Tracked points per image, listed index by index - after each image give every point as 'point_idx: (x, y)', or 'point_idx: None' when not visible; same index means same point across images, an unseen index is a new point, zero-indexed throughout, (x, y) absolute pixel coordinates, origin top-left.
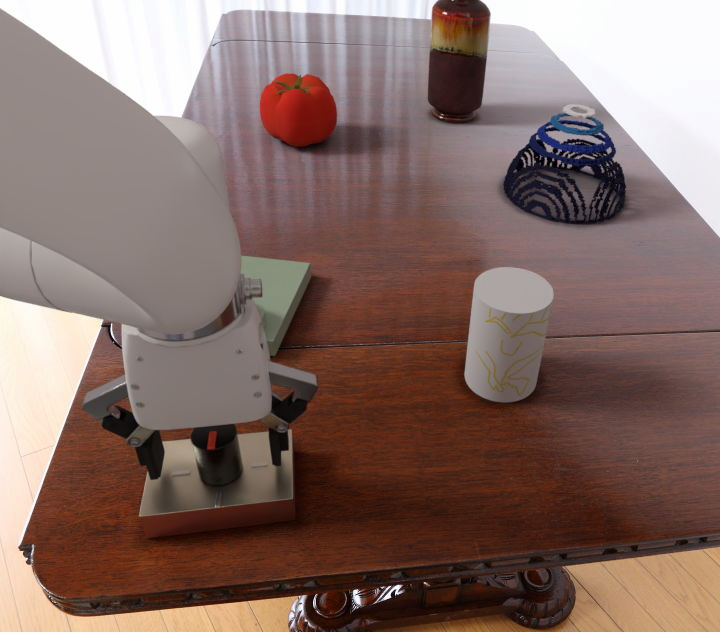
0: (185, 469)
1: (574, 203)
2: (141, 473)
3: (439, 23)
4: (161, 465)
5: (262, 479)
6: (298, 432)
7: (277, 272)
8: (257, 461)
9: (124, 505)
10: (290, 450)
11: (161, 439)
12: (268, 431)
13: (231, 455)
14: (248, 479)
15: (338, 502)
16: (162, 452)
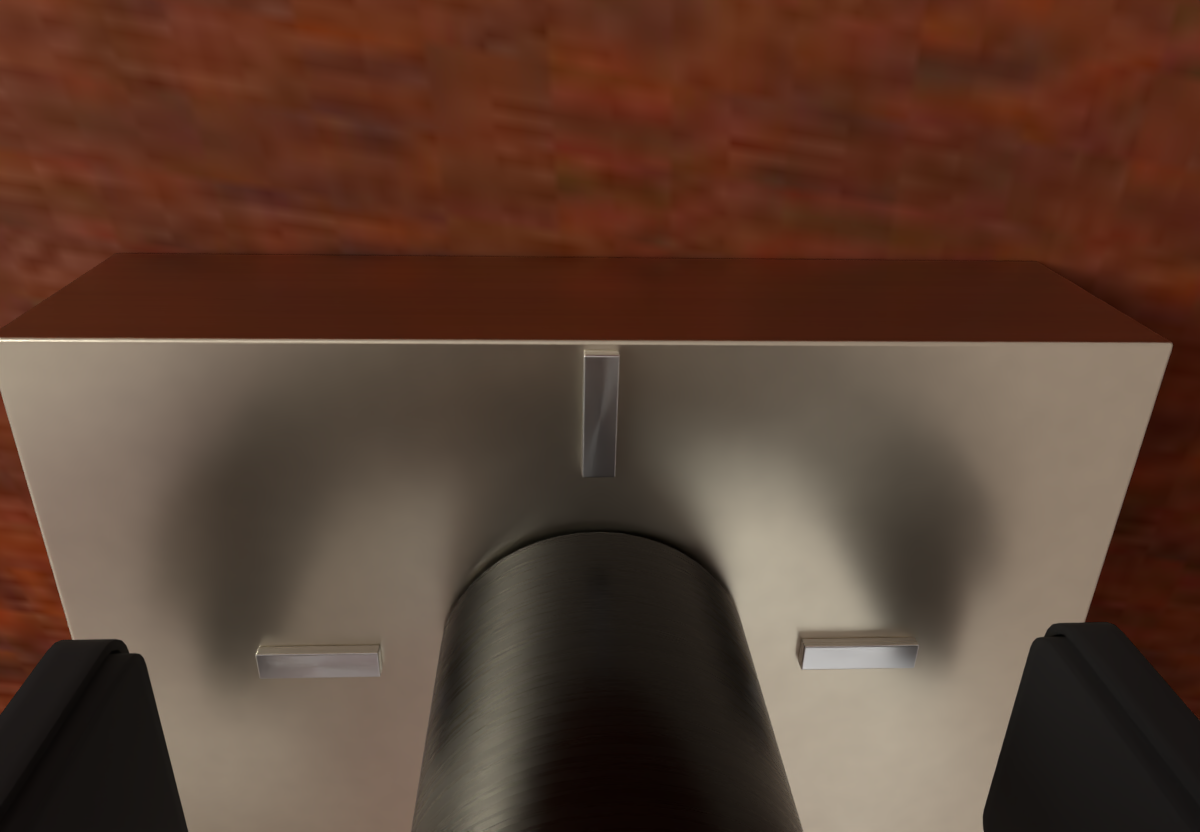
0: (341, 631)
1: None
2: (16, 311)
3: None
4: (162, 795)
5: (859, 749)
6: (1114, 72)
7: None
8: (846, 619)
9: (16, 533)
10: (1096, 556)
11: (63, 764)
12: (977, 344)
13: None
14: None
15: (1161, 644)
16: (126, 745)
